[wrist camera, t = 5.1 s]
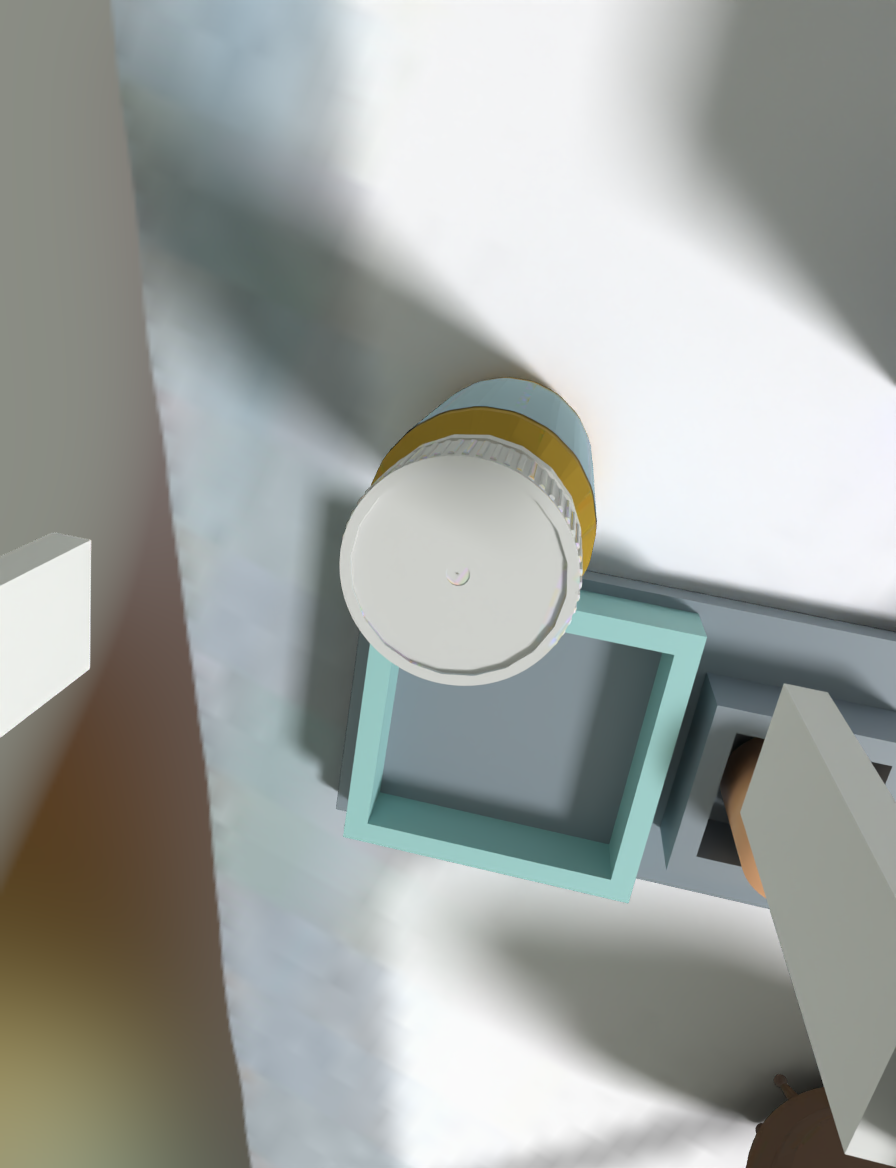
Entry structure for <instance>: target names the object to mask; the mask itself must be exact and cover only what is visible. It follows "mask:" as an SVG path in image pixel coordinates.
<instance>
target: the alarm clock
mask: <svg viewBox="0 0 896 1168" xmlns="http://www.w3.org/2000/svg"><path fill="white" fill-rule="evenodd" d="M774 1083H775V1085H776V1086H778V1087H779V1088H781V1089H782V1091H783V1092H784V1094H785V1096H786V1098H787V1099H788V1101H786V1102H785V1103H783V1104H782V1105H780V1106H779V1107H778V1108H777V1109H776V1110H774V1111H773V1112H772V1113H771V1114H770V1116H769V1117H768V1118H767V1119H766V1120H765V1121H764V1123H763V1124H762V1123H760V1124H758V1125H757V1127H756V1136H755V1138H754V1140H753V1143H752V1146H751V1149H750V1152H749V1155H748V1160H747V1165H746V1168H896V1167H894V1166H890V1165H886V1164H882V1163H878V1162H874V1161H870V1160H866V1159H862V1158H858V1157H854V1156H850V1155H846V1154H844V1150H843V1147H842V1144H841V1140H840V1137H839V1134H838V1131H837V1127H836V1124H835V1121H834V1118H833V1114H832V1111H831V1108H830V1105H829V1101H828V1098H827V1095H826V1092H825V1088H824V1087H821V1088H816V1089H812V1090H809V1091H807V1092H804V1093H801V1094H799V1095H798V1094H797V1093H796V1092H795V1091H794V1090H793V1089H792V1088H791V1087H790V1086H789V1085H788V1084H787V1080H786V1078H785V1076H784V1075H782V1074H777V1075H776V1076H775V1077H774Z"/></svg>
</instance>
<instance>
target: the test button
mask: <svg viewBox="0 0 896 1168" xmlns="http://www.w3.org/2000/svg"><path fill="white" fill-rule="evenodd" d="M764 740H765V739H762V738H758V737H755V738H753V739H750V740H748V741H747V742H745V743H743V744H742V745H740V746H739V747H738V748H737V749H736V750H734V751H733V752H732V754H731V755H730V756H729V757H728V760H727V763H726V766H725V769H724V772H723V775H722V779H721V782H720V790H721V795H722V798H723V802H724V805H725V809H726V813H727V816H728V820H729V823H730V827H731V830H732V834H733V838H734V841H735V845H736V848H737V852H738V855H739V859H740V863H741V866H742V870H743V872H744V875H745V877H746V879H747V880H748V882H749V883H750V885H751V886H752V887H753V888H754V889H755V890H756V891H757V892H758V893H759V894H760V895H762V896H763V897H764V898H766V896H765V892H764V889H763V886H762V883H761V879H760V876H759V873H758V870H757V866H756V863H755V860H754V856H753V853H752V850H751V847H750V843H749V840H748V837H747V834H746V830H745V827H744V824H743V821H742V817H741V814H740V811H741V808H742V805H743V802H744V799H745V796H746V793H747V791H748V788H749V785H750V782H751V779H752V776H753V773H754V770H755V767H756V764H757V761H758V758H759V755H760V752H761V749H762V746H763V743H764Z"/></svg>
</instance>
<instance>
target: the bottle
mask: <svg viewBox="0 0 896 1168" xmlns="http://www.w3.org/2000/svg"><path fill="white" fill-rule="evenodd" d="M357 505H358V506H357V507H356V508H355V509H353V510H352V512H351V518H350V520H349V521H348V522H347V523H346V530H345V533H344V534H343V536H342V545H341V547H340V560H339V564H340V580H341V586H342V591H343V595H344V598H345V601H346V604H347V607H348V609H349V612H350V614H351V616H352V618H353V620H354V622H355V623H356V625H357V627H358V628H359V630H360V631H361V633H362V634H363V635H364V637H365V638H366V639H367V640H368V642H369V643H370V644H371V645H372V646H373V647H374V648H375V649H376V650H377V651H378V652H379V653H380V654H381V655H383V656H384V657H385V658H386V659H388V660H389V661H390V662H392V663H393V664H395V665H396V666H398V667H399V668H401V669H403V670H405V671H407V672H409V673H411V674H413V675H415V676H418V677H420V678H423V679H426V680H429V681H433V682H437V683H441V684H447V685H457V686H474V685H483V684H489V683H494V682H497V681H501V680H504V679H507V678H510V677H512V676H514V675H517V674H519V673H521V672H522V671H524V670H526V669H528V668H529V667H531V666H532V665H534V664H535V663H536V662H538V661H539V660H540V659H541V658H543V657H544V656H545V655H546V654H547V653H548V652H549V651H550V650H551V649H552V648H553V647H554V646H555V645H556V644H557V643H558V640H559V639H560V638H561V636H562V635H564V633H565V630H566V628H567V626H568V625H569V624H570V623H571V621H572V615H573V614H574V613H575V612H576V609H577V601H579V599H580V588H581V587H582V576H583V575H584V573H585V571H586V570H587V567H588V565H589V562H590V559H591V554H592V550H593V545H594V540H595V536H596V524H597V518H596V504H595V490H594V475H593V463H592V454H591V445H590V442H589V438H588V435H587V433H586V431H585V429H584V427H583V425H582V423H581V420H580V418H579V417H578V415H577V414H576V412H575V411H574V410H573V409H572V408H571V407H570V406H569V405H568V404H567V403H566V401H565V400H564V399H563V398H562V397H561V396H559V395H558V394H557V393H555V392H553V391H552V390H550V389H548V388H546V387H544V386H542V385H540V384H538V383H536V382H533V381H530V380H524V379H518V378H512V377H502V378H496V379H489V380H483V381H480V382H477V383H474V384H472V385H470V386H468V387H467V388H465V389H463V390H461V391H459V392H457V393H455V394H454V395H453V396H451V397H450V398H449V399H447V400H446V401H445V402H444V403H443V404H441V405H440V406H439V407H438V408H436V409H435V410H434V411H433V412H431V413H430V414H429V415H428V416H427V417H425V418H424V419H423V420H422V421H420V422H419V423H418V424H417V425H415V426H414V427H413V428H412V429H410V430H409V431H408V432H407V433H406V434H405V435H404V436H403V437H402V438H401V439H400V440H399V442H398V443H397V444H396V445H395V446H394V447H393V448H392V449H391V450H390V451H389V453H388V454H387V455H386V457H385V458H384V459H383V461H382V463H381V465H380V467H379V469H378V471H377V473H376V475H375V478H374V480H373V482H372V484H371V486H370V487H369V488H368V489H367V490H366V491H365V495H363V496H362V497H361V498H360V499H359V501H358V502H357Z"/></svg>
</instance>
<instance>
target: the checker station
mask: <svg viewBox="0 0 896 1168" xmlns="http://www.w3.org/2000/svg"><path fill="white" fill-rule="evenodd" d="M784 683H785V684H790V685H795V686H799V687H804V688H809V689H814V690H819V691H824V692H828V693H829V695H830V697H831V698H832V700H833V701H834V703H835V705H836V706H837V708H838V710H839V711H840V713H841V714H842V716H843V718H844V719H845V721H846V722H847V724H848V726H849V727H850V729H851V731H852V732H853V734H854V735H855V737H856V739H857V740H858V742H859V744H860V745H861V747H862V748H863V750H864V752H865V753H866V755H867V756H868V758H869V760H870V761H871V763H872V765H873V766H874V768H875V769H876V771H877V773H878V774H879V776H880V778H881V779H882V781H883V782H884V784H885V786H886V787H887V789H888V790H889V792H890V794H891V795H892V797H893V799H894V800H895V802H896V632H892V631H887V630H882V629H877V628H872V627H867V626H862V625H857V624H852V623H847V622H842V621H837V620H832V619H827V618H822V617H817V616H812V615H807V614H802V613H797V612H792V611H787V610H782V609H777V608H772V607H767V606H762V605H756V604H751V603H746V602H741V601H736V600H731V599H726V598H721V597H716V596H711V595H706V594H701V593H696V592H691V591H686V590H681V589H676V588H671V587H666V586H661V585H656V584H651V583H646V582H641V581H636V580H631V579H626V578H621V577H616V576H611V575H606V574H601V573H596V572H591V571H585V573H584V575H583V576H582V587H581V588H580V599H579V601H577V609H576V612H575V613H574V614H573V615H572V621H571V623H570V624H569V625H568V626H567V628H566V630H565V633H564V635H562V636H561V638H560V639H559V640H558V643H557V644H556V645H555V646H554V647H553V648H552V649H551V650H550V651H549V652H548V653H547V654H546V655H545V656H544V657H543V658H541V659H540V660H539V661H538V662H536V663H535V664H534V665H532V666H531V667H529V668H528V669H526V670H524V671H522V672H521V673H519V674H517V675H514V676H512V677H510V678H507V679H504V680H501V681H497V682H494V683H489V684H483V685H474V686H457V685H447V684H441V683H437V682H433V681H429V680H426V679H423V678H420V677H418V676H415V675H413V674H411V673H409V672H407V671H405V670H403V669H401V668H399V667H398V666H396V665H395V664H393V663H392V662H390V661H389V660H388V659H386V658H385V657H384V656H383V655H381V654H380V653H379V652H378V651H377V650H376V649H375V648H374V647H373V646H372V645H371V644H370V643H369V642H368V640H367V639H366V638H365V637H364V635H363V634H362V633H361V631H360V632H359V639H358V647H357V654H356V662H355V669H354V677H353V684H352V692H351V699H350V707H349V714H348V722H347V729H346V737H345V744H344V752H343V759H342V767H341V774H340V782H339V789H338V797H337V804H336V809H338V810H342V811H347V813H346V820H345V828H344V835H343V837H346V838H351V839H355V840H359V841H363V842H368V843H372V844H376V845H381V846H385V847H389V848H393V849H398V850H402V851H406V852H411V853H415V854H419V855H423V856H428V857H432V858H436V859H441V860H445V861H449V862H453V863H458V864H462V865H466V866H471V867H475V868H479V869H483V870H488V871H492V872H496V873H500V874H505V875H509V876H513V877H518V878H522V879H526V880H530V881H535V882H539V883H543V884H548V885H552V886H556V887H560V888H565V889H569V890H573V891H578V892H582V893H586V894H590V895H595V896H599V897H603V898H608V899H612V900H616V901H620V902H625V903H629V900H630V896H631V893H632V889H633V886H634V883H635V879H636V878H637V879H642V880H646V881H650V882H655V883H659V884H663V885H668V886H672V887H676V888H681V889H685V890H689V891H694V892H698V893H702V894H707V895H711V896H715V897H720V898H724V899H728V900H733V901H737V902H741V903H746V904H750V905H754V906H759V907H763V908H767V909H769V905H768V902H767V899H766V898H764V897H763V896H762V895H760V894H759V893H758V892H757V891H756V890H755V889H754V888H753V887H752V886H751V885H750V883H749V882H748V880H747V879H746V877H745V875H744V872H743V870H742V866H741V863H740V859H739V855H738V852H737V848H736V845H735V841H734V838H733V834H732V830H731V827H730V823H729V820H728V816H727V813H726V809H725V805H724V802H723V798H722V795H721V790H720V782H721V779H722V775H723V772H724V769H725V766H726V763H727V760H728V757H729V756H730V755H731V754H732V752H733V751H734V750H736V749H737V748H738V747H739V746H740V745H742V744H743V743H745V742H747V741H748V740H750V739H753V738H755V737H758V738H762V739H765V737H766V734H767V731H768V729H769V726H770V723H771V720H772V717H773V714H774V711H775V708H776V705H777V702H778V699H779V696H780V693H781V690H782V687H783V684H784Z"/></svg>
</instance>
